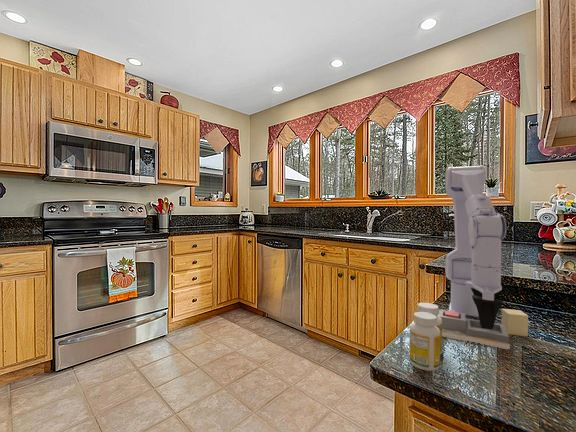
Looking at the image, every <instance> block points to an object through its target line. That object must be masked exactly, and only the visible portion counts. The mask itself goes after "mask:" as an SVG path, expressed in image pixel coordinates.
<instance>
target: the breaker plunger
mask: <svg viewBox="0 0 576 432" xmlns="http://www.w3.org/2000/svg"><path fill="white" fill-rule="evenodd" d="M445 316H447V317H453V318H459V313H458V312H451V311H449V310H446V311H445Z"/></svg>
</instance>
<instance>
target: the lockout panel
mask: <svg viewBox="0 0 576 432" xmlns="http://www.w3.org/2000/svg"><path fill="white" fill-rule="evenodd" d="M445 311H447V310H445V309H439V312H438V314H437V315H438V316H439V317H441V319H442V338H448V339H454V340H457V341H458V340H459V341H462V340H463V341H464V342H467V341H469V342H468V343H472V342H475V343H474V344H477V343H480V344H479V345H482V344H485V345H484V346H487V345H490V346H489V347H492V346H494V347H493V348H497V347H498V349H504V350H508V349H509V350H511V347H510V346H511V345H510V334H508V333H507V330H506V328H505V325H504V324H502V323H497V322H495V323H494V327H493V329H492V330H490V329H484V328H481V325H480V321H479V319H473V318H467V317H466V316H467V315H465V313H459V312H458V313H459V318H453V317H447V316H445ZM451 312H452V311H451Z"/></svg>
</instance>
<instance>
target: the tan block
mask: <svg viewBox="0 0 576 432" xmlns="http://www.w3.org/2000/svg"><path fill="white" fill-rule="evenodd" d="M501 324H504V325H505V328H506V330H507V333H508V335H514V336H522V337H528V336H529V315H528V314H526V313H525V312H523V311H522V310H520V309H509V308H501Z"/></svg>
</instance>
